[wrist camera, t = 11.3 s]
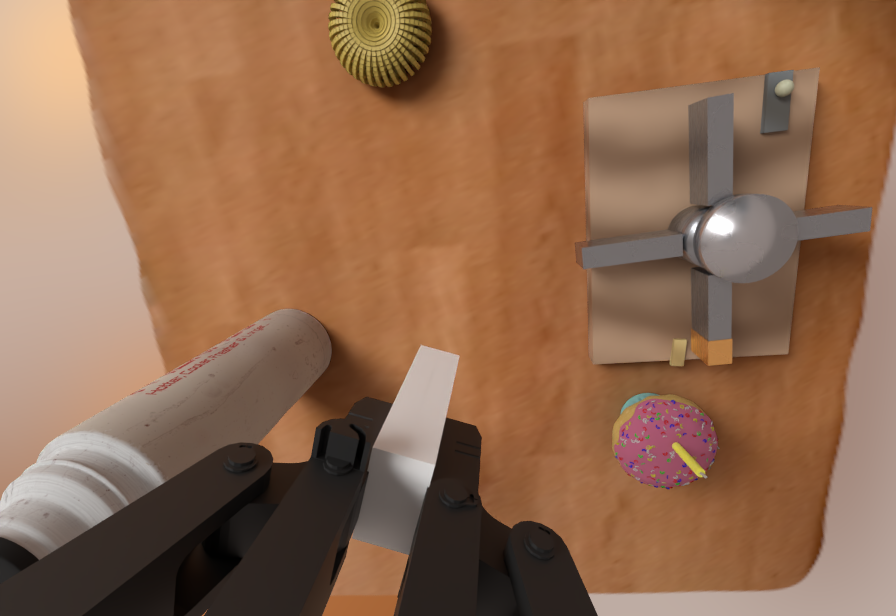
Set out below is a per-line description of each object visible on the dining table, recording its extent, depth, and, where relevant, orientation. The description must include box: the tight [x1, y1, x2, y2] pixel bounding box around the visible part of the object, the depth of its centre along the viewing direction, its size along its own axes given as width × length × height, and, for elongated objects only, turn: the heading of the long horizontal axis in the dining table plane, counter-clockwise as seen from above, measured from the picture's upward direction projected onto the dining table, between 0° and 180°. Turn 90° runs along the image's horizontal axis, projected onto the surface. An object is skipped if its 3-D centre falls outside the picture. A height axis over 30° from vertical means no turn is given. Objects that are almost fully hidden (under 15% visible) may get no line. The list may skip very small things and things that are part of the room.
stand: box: [583, 67, 820, 366], centre depth 35 cm, size 22×16×4 cm
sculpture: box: [328, 0, 432, 87], centre depth 34 cm, size 8×4×8 cm
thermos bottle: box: [0, 309, 332, 584], centre depth 31 cm, size 8×8×28 cm
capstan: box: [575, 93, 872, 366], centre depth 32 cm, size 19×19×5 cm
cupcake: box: [612, 393, 720, 489], centre depth 36 cm, size 9×8×12 cm
